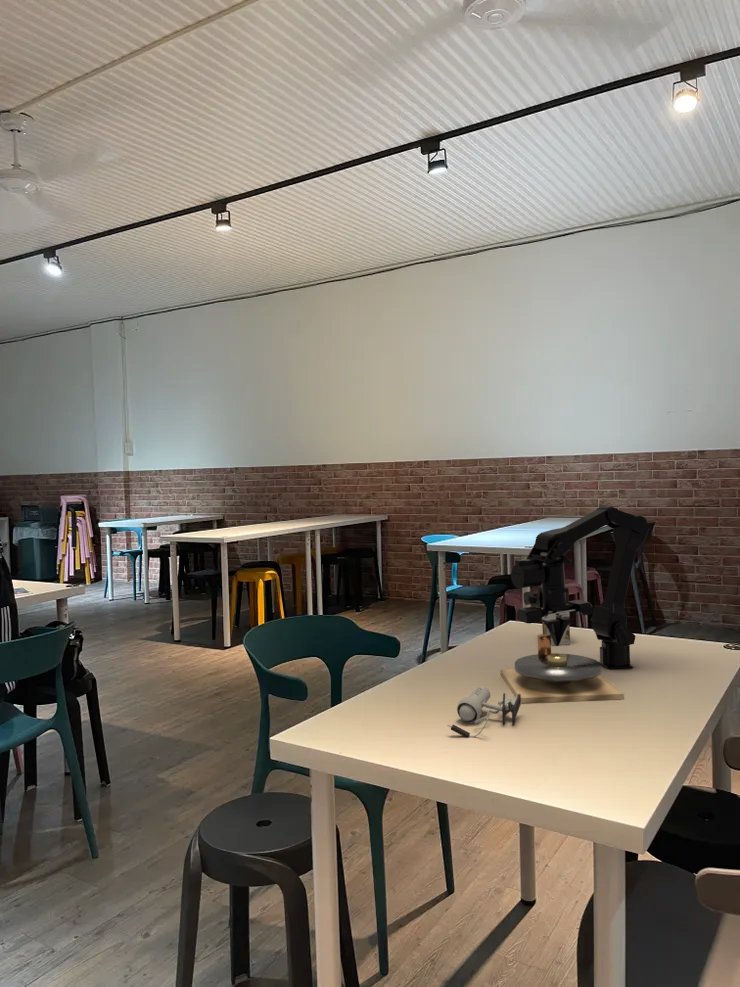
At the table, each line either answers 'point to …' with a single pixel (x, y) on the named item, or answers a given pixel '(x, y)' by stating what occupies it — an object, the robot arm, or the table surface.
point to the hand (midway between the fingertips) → (556, 645)
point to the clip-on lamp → (476, 701)
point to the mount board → (560, 689)
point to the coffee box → (566, 635)
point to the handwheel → (556, 664)
